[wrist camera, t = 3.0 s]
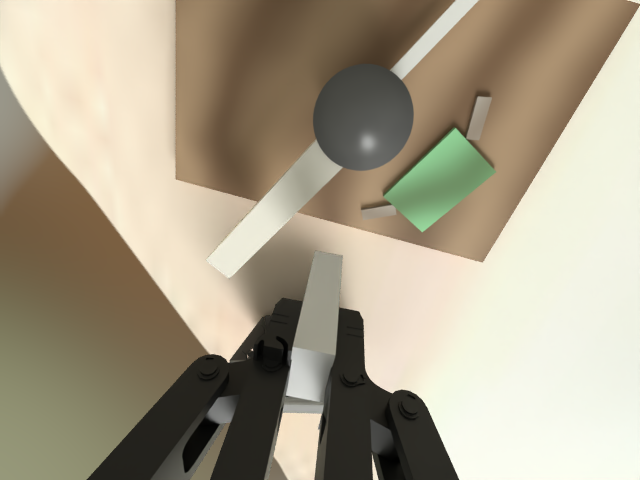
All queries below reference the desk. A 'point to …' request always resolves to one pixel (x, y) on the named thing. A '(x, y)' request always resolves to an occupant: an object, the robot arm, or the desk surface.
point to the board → (425, 90)
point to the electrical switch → (245, 349)
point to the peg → (339, 141)
